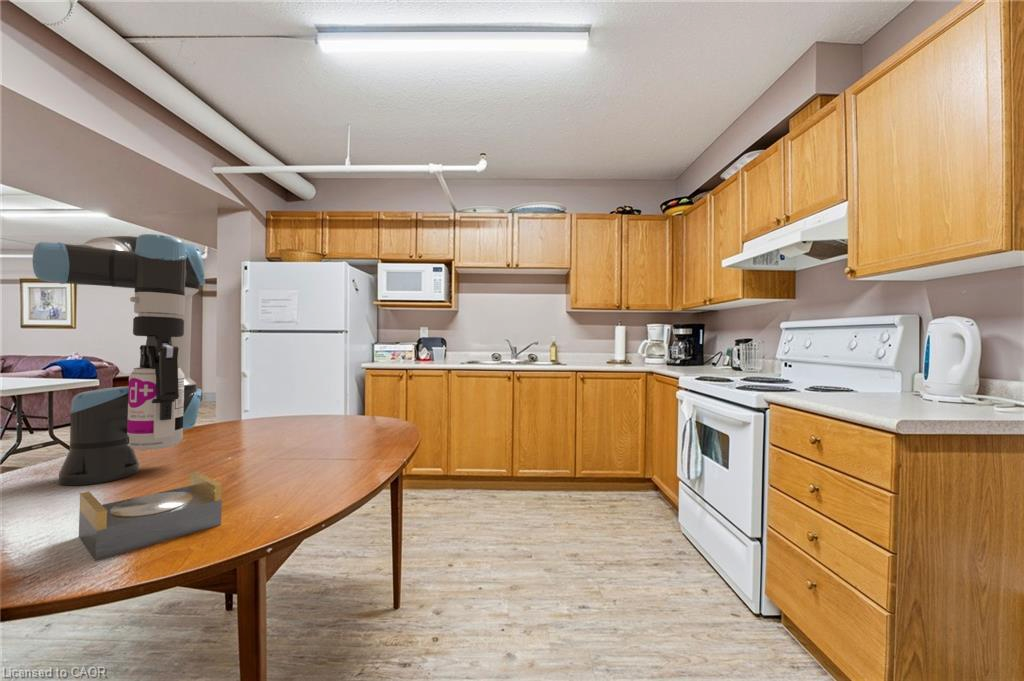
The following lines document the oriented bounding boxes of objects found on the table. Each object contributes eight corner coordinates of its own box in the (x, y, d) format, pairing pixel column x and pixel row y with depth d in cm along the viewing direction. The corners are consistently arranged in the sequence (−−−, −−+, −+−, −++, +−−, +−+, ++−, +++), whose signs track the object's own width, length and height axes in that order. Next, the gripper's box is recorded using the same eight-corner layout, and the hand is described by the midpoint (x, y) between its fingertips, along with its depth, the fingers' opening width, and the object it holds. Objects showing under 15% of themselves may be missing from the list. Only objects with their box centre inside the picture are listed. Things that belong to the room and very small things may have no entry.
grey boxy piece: (78, 536, 77) (80, 493, 77) (195, 507, 91) (196, 470, 91) (95, 561, 69) (96, 512, 69) (220, 524, 83) (222, 484, 83)
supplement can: (150, 452, 75) (153, 369, 76) (114, 449, 77) (117, 368, 77) (193, 442, 83) (195, 367, 83) (160, 439, 85) (162, 366, 85)
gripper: (119, 316, 84) (115, 429, 83) (150, 313, 71) (146, 445, 71) (166, 318, 90) (163, 423, 89) (202, 316, 77) (199, 438, 77)
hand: (155, 433), depth 80 cm, fingers closed on supplement can, 8 cm apart
